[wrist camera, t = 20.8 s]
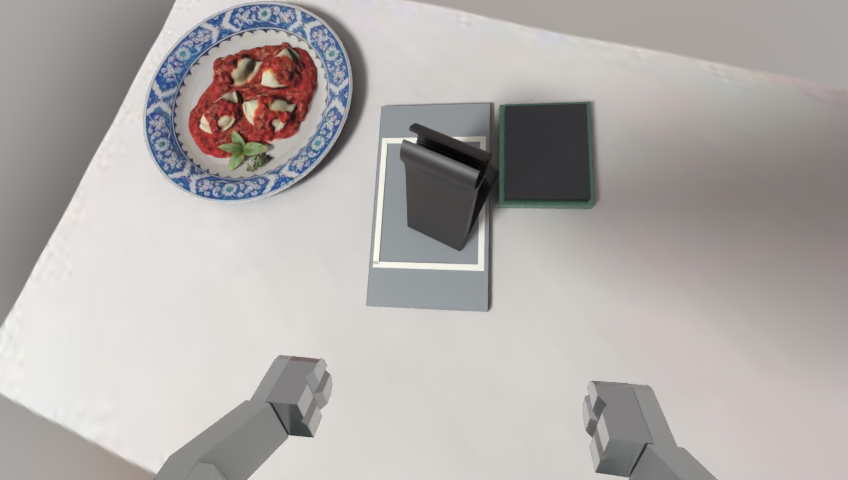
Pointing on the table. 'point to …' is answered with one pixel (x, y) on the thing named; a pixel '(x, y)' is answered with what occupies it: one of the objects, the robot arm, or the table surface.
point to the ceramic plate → (247, 102)
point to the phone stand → (445, 185)
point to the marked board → (411, 250)
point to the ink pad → (545, 156)
